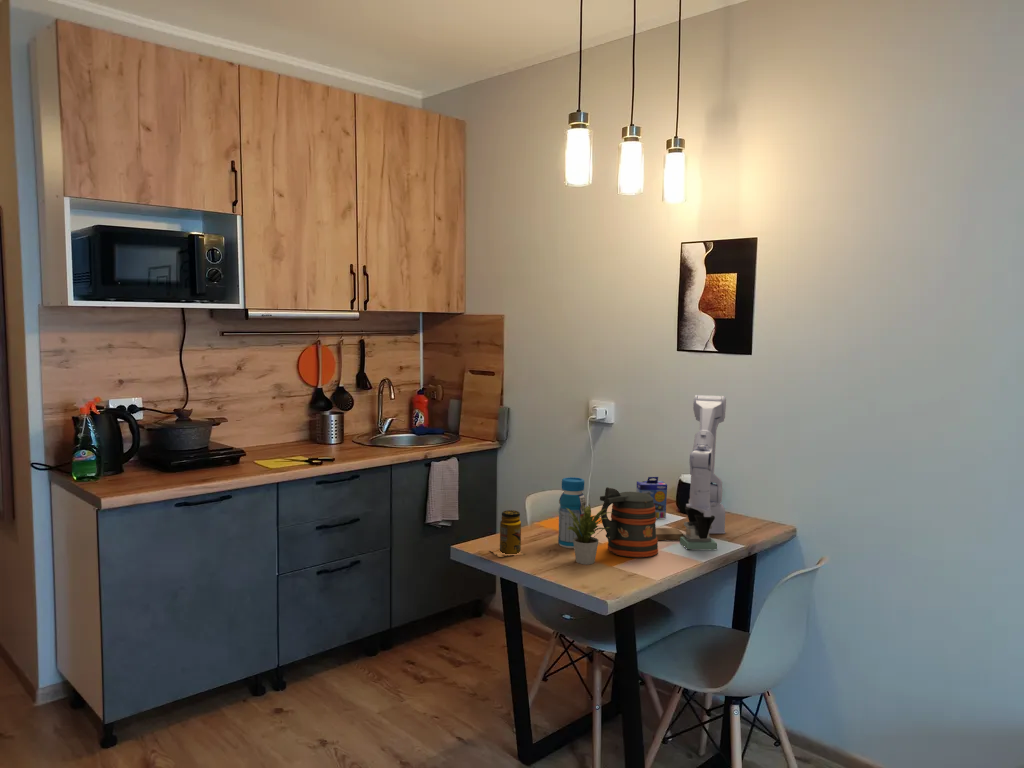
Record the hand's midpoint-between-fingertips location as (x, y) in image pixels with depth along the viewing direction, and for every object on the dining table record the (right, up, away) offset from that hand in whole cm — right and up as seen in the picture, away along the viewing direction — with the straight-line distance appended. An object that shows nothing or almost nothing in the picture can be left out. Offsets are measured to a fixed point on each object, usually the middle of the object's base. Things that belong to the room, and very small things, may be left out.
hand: (698, 534), depth 224 cm
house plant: (-35, -5, -17) cm, 39 cm away
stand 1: (-8, -3, +10) cm, 13 cm away
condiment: (-57, -4, -9) cm, 58 cm away
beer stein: (-23, -4, -7) cm, 24 cm away
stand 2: (0, -4, 0) cm, 4 cm away
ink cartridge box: (-8, -1, +35) cm, 36 cm away
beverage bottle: (-38, -3, 0) cm, 38 cm away
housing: (0, -2, 0) cm, 2 cm away
